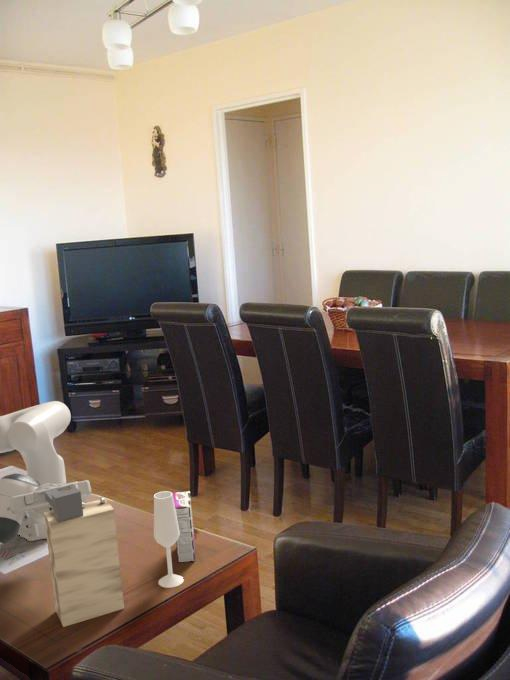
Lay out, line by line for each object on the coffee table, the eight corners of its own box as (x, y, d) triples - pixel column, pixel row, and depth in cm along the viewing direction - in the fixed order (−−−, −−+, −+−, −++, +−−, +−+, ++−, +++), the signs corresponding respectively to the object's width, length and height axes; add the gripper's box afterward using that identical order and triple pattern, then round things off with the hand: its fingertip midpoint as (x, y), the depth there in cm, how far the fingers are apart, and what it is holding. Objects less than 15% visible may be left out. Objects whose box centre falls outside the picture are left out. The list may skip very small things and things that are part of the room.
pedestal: (55, 611, 183) (43, 508, 178) (115, 594, 189) (104, 493, 184) (63, 627, 176) (50, 520, 171) (124, 608, 182) (113, 504, 177)
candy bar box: (177, 545, 214) (173, 491, 211) (195, 543, 214) (190, 490, 211) (177, 563, 203) (172, 507, 200) (195, 562, 203) (190, 506, 200)
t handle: (39, 500, 185) (36, 478, 184) (63, 494, 188) (60, 472, 187) (58, 522, 172) (55, 498, 171) (83, 515, 175) (80, 491, 174)
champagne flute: (174, 589, 190) (166, 501, 185) (153, 584, 193) (144, 497, 188) (188, 577, 195) (181, 491, 191) (168, 572, 199) (160, 488, 194)
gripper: (4, 498, 191) (8, 488, 180) (82, 481, 200) (91, 470, 188) (8, 522, 190) (13, 514, 178) (87, 504, 198) (96, 494, 187)
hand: (54, 491), depth 183 cm, fingers open, 8 cm apart
